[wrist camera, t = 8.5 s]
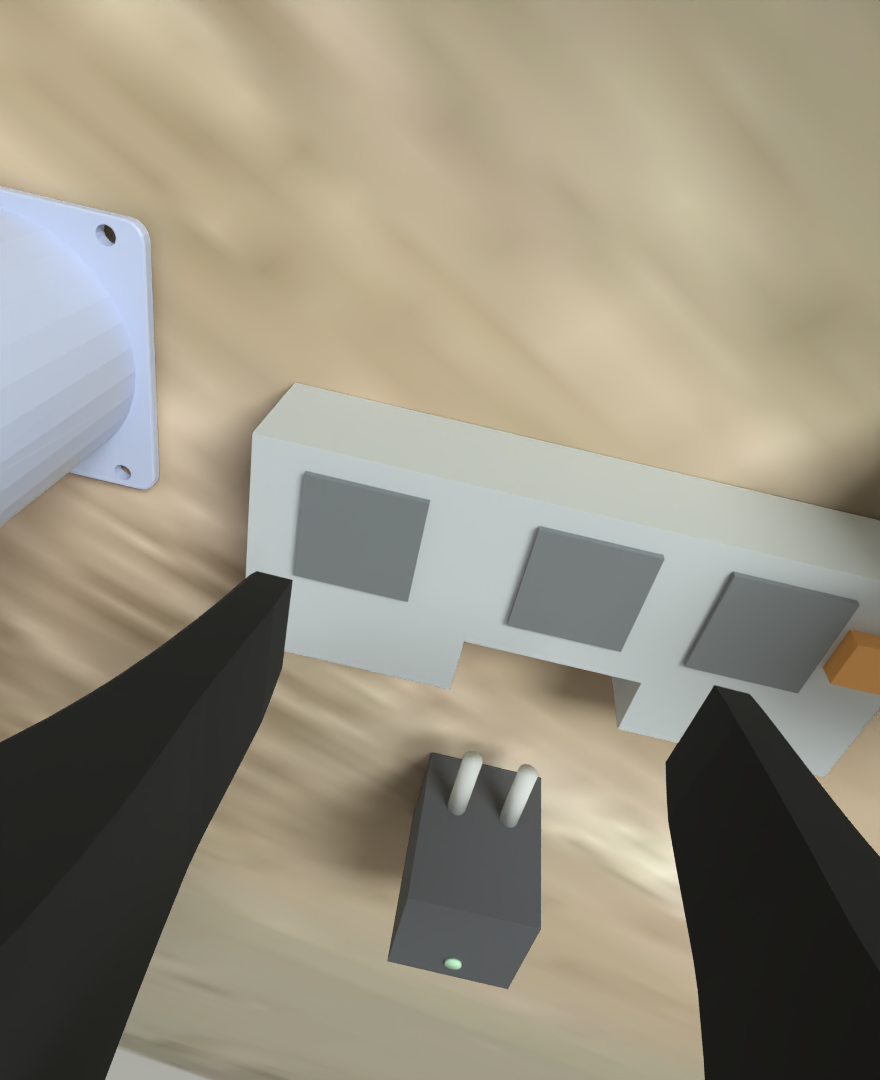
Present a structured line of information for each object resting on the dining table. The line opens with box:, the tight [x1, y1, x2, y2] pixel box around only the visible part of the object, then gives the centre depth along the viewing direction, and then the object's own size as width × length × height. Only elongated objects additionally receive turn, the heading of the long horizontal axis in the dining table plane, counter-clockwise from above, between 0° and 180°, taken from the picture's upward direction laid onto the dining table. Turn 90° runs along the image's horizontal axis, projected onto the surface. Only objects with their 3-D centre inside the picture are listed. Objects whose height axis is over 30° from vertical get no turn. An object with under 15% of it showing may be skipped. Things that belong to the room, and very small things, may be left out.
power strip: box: [246, 383, 880, 777], centre depth 20 cm, size 18×7×4 cm, turn 78°
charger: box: [388, 752, 541, 989], centre depth 26 cm, size 4×7×6 cm, turn 168°
